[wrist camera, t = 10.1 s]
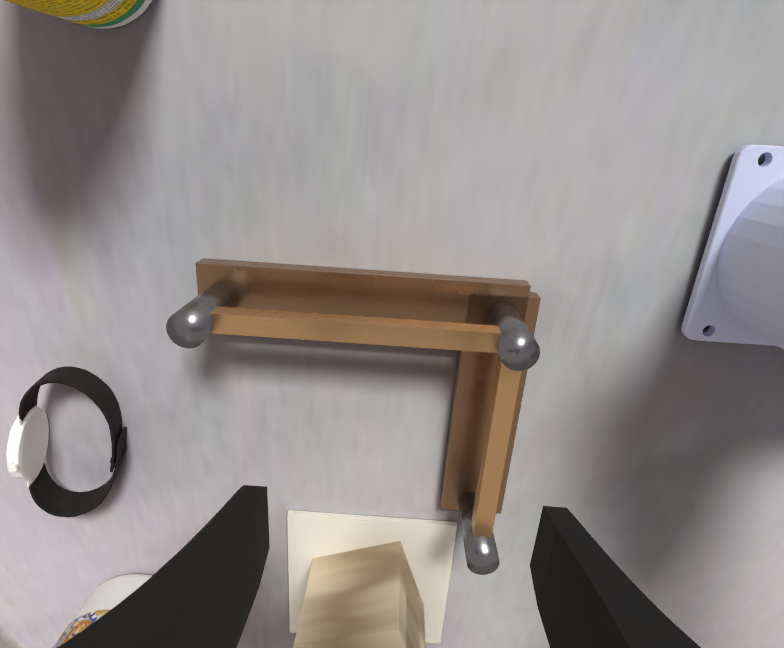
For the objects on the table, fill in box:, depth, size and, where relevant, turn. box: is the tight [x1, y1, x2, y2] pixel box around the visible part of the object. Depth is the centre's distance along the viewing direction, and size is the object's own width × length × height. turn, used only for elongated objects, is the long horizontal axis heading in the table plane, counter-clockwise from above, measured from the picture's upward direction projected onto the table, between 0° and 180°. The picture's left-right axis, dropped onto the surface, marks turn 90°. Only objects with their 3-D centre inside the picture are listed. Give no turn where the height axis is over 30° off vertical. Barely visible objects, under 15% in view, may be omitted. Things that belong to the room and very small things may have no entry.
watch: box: [6, 367, 127, 517], centre depth 23 cm, size 8×5×4 cm, turn 171°
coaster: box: [287, 510, 457, 643], centre depth 27 cm, size 9×9×1 cm
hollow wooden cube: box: [293, 541, 426, 648], centre depth 25 cm, size 5×5×5 cm
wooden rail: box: [166, 259, 541, 575], centre depth 21 cm, size 14×12×4 cm
